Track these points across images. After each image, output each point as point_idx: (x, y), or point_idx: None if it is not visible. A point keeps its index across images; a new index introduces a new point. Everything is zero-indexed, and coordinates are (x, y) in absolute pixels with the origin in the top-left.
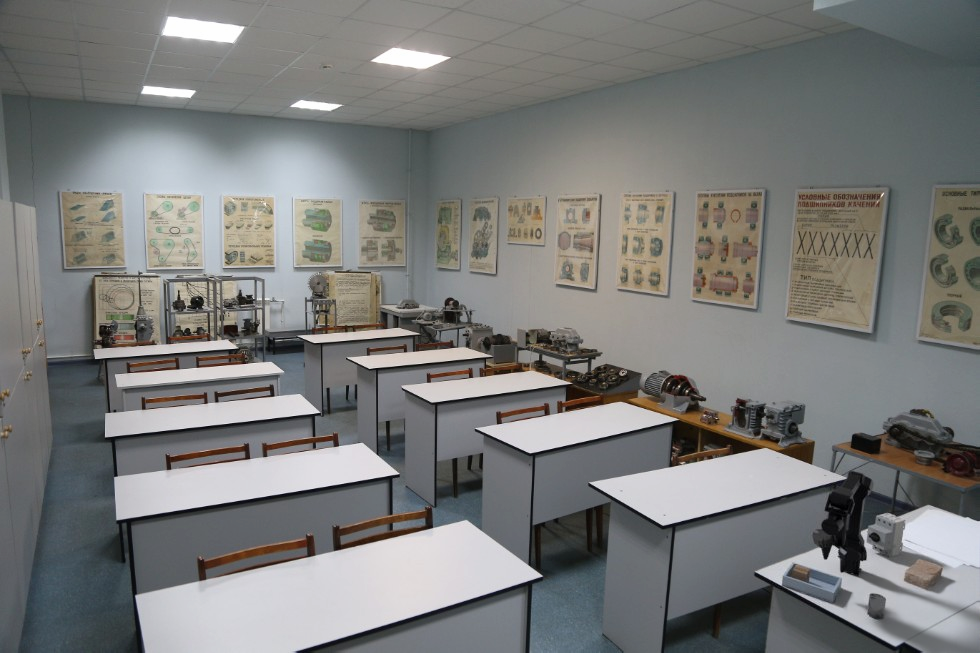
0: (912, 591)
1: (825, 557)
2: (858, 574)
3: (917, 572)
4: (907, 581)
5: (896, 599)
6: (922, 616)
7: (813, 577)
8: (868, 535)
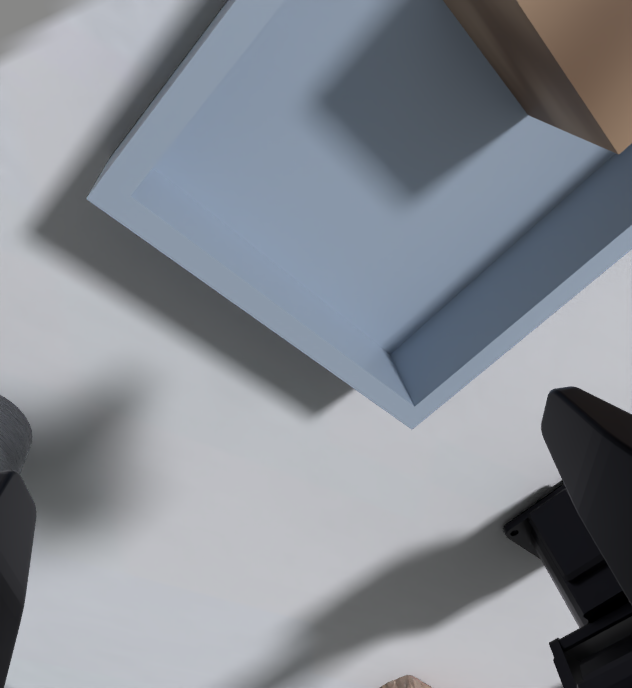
0: (312, 676)
1: (573, 436)
2: (509, 535)
3: None
4: (396, 686)
5: (228, 604)
6: (46, 648)
7: (566, 203)
8: None
